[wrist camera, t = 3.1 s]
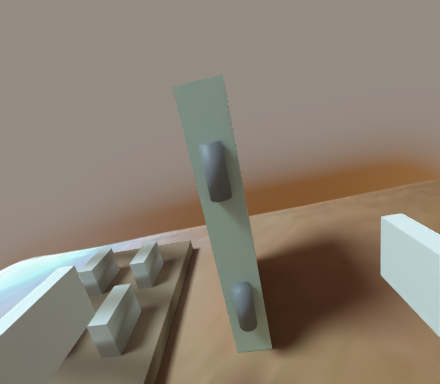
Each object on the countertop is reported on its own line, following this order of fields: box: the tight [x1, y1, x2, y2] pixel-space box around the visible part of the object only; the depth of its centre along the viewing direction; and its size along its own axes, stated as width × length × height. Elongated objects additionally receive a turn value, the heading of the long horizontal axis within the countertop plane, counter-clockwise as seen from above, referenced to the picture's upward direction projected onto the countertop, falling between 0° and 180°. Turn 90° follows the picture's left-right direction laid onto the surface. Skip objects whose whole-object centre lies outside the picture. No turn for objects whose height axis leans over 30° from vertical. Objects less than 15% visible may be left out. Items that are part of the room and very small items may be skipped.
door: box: [173, 75, 272, 353], centre depth 18 cm, size 11×4×18 cm, turn 178°
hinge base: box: [48, 241, 193, 384], centre depth 22 cm, size 20×12×4 cm, turn 178°
